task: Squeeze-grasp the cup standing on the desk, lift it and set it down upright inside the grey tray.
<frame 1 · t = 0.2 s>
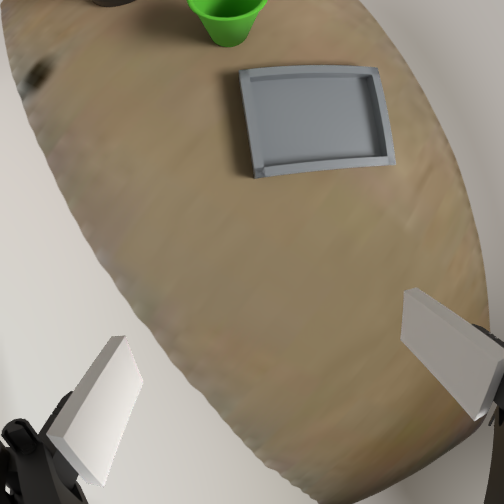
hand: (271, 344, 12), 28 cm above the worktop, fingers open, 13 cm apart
cup: (229, 34, 33), on the worktop
grey tray: (317, 119, 36), on the worktop
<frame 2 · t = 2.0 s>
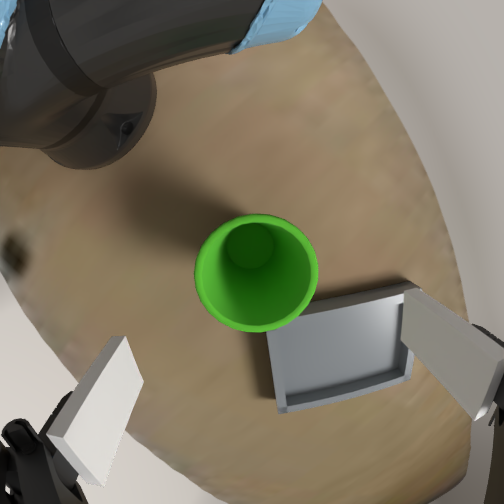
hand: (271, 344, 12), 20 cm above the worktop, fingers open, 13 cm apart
cup: (249, 244, 32), on the worktop
grey tray: (343, 345, 35), on the worktop
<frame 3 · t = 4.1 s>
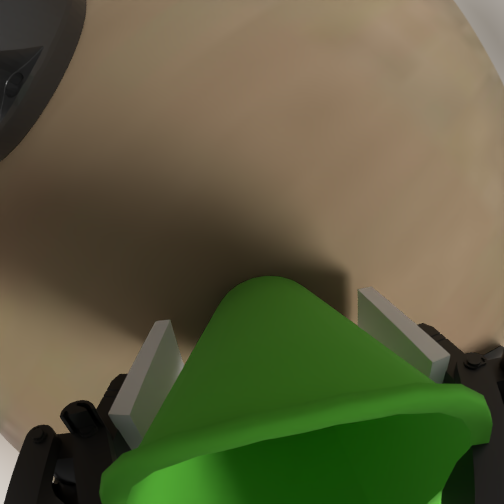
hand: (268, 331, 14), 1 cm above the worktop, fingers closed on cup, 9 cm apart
cup: (266, 320, 15), on the worktop, touching gripper
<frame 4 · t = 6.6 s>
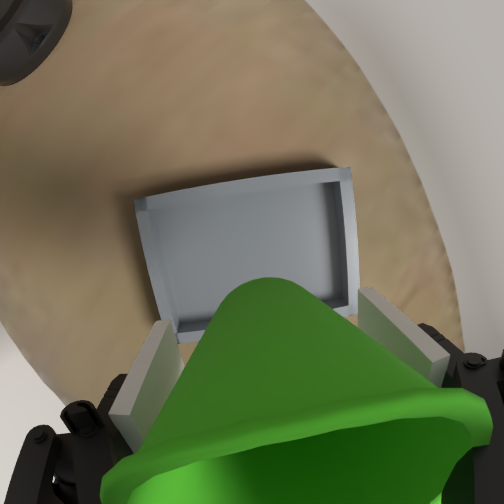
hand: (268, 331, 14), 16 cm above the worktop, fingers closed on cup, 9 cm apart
cup: (266, 321, 15), point 14 cm above the worktop, touching gripper
grey tray: (252, 253, 29), on the worktop
when the fingers open (3 cm above the worktop, at t = 9.4 s): cup stays where it is, resting on grey tray.
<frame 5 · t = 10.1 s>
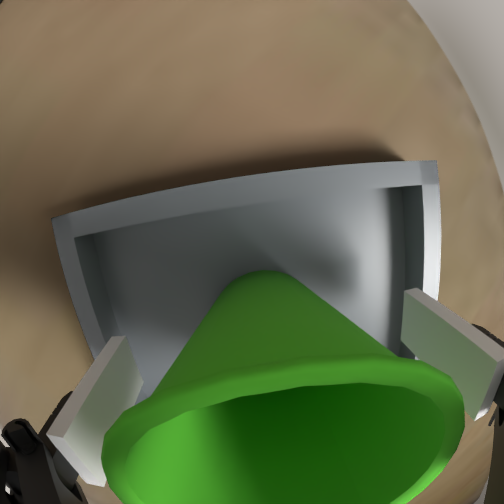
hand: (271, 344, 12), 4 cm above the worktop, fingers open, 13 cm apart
cup: (263, 312, 16), point 1 cm above the worktop, touching grey tray
grey tray: (263, 306, 16), on the worktop
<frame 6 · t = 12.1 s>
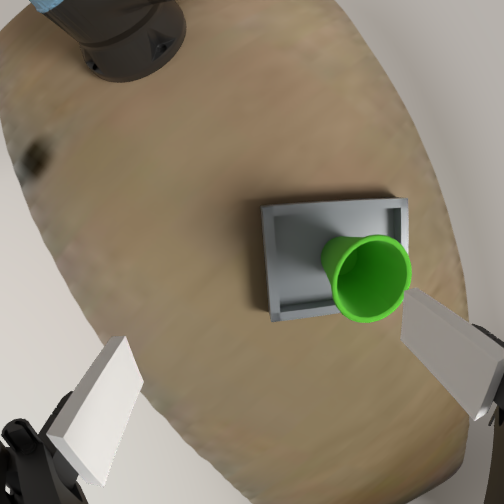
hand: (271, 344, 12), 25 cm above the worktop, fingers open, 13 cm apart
cup: (338, 255, 37), point 1 cm above the worktop, touching grey tray
grey tray: (336, 254, 38), on the worktop
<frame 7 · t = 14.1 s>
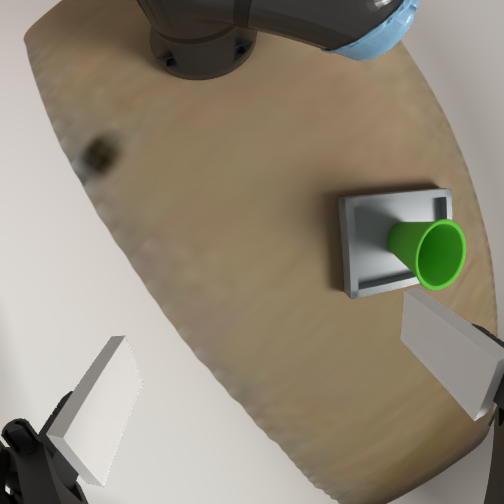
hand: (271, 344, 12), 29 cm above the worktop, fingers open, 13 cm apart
cup: (399, 238, 41), point 1 cm above the worktop, touching grey tray
grey tray: (397, 237, 42), on the worktop
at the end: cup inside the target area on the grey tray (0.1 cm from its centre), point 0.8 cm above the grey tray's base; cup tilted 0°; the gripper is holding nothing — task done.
